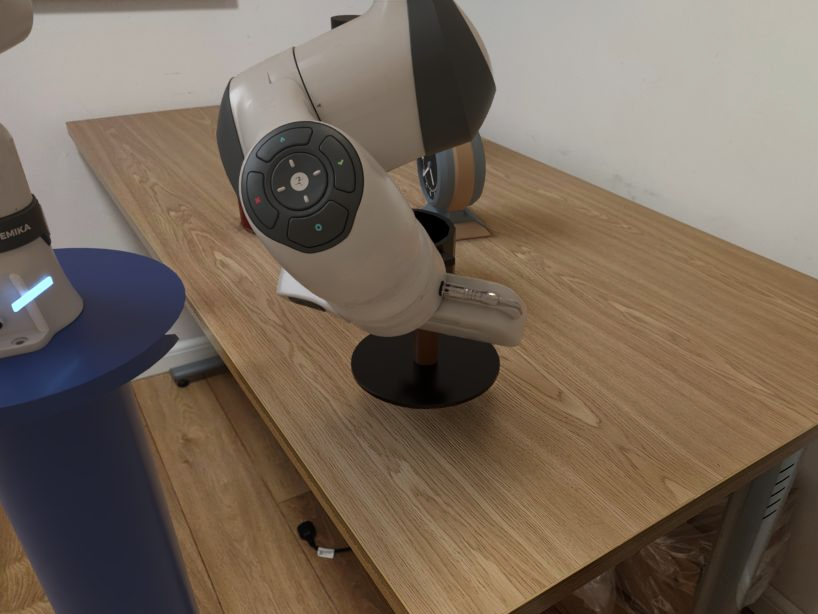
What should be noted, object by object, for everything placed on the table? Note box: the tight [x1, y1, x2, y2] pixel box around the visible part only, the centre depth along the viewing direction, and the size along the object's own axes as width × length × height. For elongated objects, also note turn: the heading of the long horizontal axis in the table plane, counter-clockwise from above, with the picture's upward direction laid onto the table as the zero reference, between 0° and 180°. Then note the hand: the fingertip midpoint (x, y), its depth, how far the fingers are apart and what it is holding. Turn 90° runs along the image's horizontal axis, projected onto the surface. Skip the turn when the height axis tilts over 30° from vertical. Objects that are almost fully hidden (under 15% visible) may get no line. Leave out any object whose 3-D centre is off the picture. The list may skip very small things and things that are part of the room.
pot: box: [411, 207, 457, 275], centre depth 89 cm, size 14×19×8 cm
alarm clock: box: [416, 130, 492, 241], centre depth 104 cm, size 14×10×18 cm
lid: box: [350, 328, 501, 410], centre depth 65 cm, size 15×15×8 cm
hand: (428, 322), depth 65 cm, fingers closed on lid, 2 cm apart
